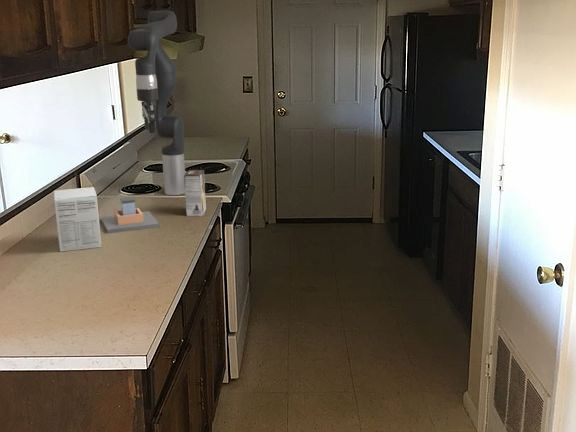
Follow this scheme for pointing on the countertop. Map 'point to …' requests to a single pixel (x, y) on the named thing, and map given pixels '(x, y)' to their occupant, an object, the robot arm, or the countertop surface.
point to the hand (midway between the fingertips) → (150, 131)
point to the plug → (128, 206)
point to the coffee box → (195, 192)
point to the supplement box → (77, 219)
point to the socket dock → (128, 221)
